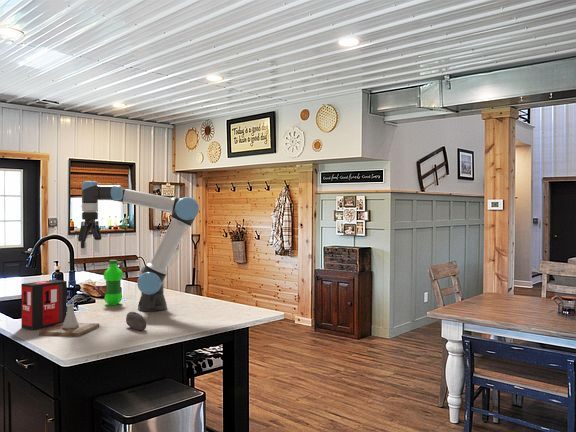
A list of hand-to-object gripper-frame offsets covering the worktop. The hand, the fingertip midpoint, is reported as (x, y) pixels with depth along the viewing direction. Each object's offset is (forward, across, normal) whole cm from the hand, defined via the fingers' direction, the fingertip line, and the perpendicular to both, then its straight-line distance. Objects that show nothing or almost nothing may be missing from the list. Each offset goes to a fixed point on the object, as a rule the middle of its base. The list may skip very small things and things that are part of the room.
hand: (90, 253), depth 254 cm
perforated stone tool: (+32, +26, +35) cm, 54 cm away
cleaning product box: (+31, +24, -10) cm, 41 cm away
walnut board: (+31, +32, +6) cm, 45 cm away
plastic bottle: (+32, -31, -2) cm, 44 cm away
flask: (+30, +32, +7) cm, 45 cm away
